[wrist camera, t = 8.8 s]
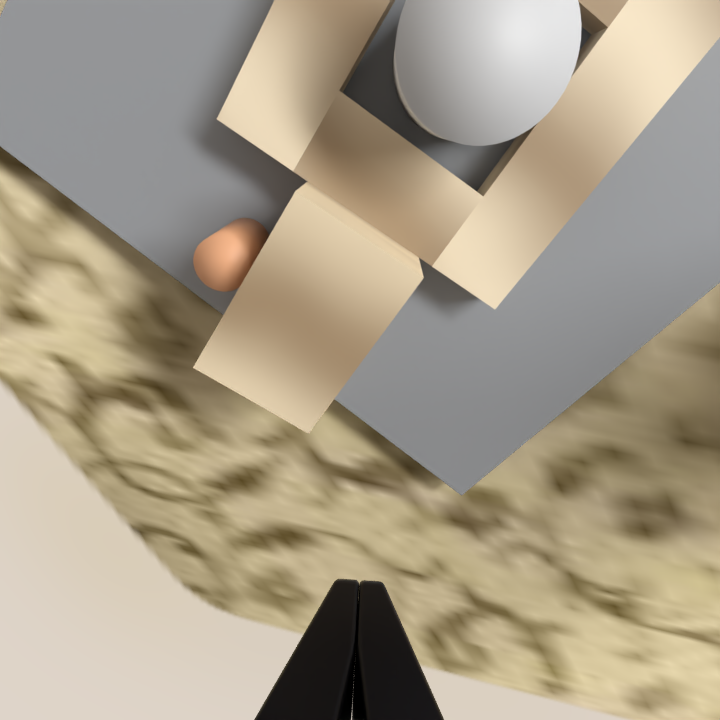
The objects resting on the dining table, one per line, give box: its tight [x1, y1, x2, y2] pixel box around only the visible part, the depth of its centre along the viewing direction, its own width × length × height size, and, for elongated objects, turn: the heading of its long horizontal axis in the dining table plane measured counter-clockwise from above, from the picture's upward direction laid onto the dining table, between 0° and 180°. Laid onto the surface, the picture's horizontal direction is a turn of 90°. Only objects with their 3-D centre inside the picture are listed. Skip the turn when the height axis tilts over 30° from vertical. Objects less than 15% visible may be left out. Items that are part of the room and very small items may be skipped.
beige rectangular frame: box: [193, 0, 720, 434], centre depth 14 cm, size 16×10×4 cm, turn 146°
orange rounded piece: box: [193, 218, 269, 292], centre depth 16 cm, size 2×2×3 cm
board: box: [0, 0, 720, 495], centre depth 14 cm, size 22×22×5 cm
